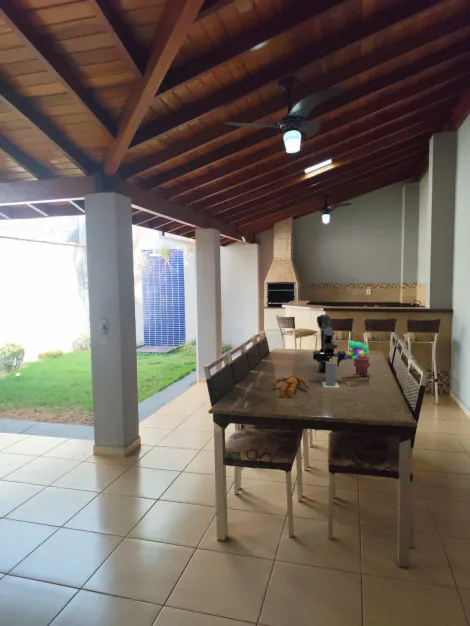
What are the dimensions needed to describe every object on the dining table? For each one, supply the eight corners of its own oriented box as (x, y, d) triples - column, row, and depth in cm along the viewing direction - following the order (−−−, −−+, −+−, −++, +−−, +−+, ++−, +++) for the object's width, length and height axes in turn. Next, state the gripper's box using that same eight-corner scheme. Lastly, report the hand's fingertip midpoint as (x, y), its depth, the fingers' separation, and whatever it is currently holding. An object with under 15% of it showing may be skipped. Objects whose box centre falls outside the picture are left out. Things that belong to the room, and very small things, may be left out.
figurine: (347, 363, 309) (373, 359, 308) (344, 344, 308) (371, 340, 307) (341, 358, 327) (366, 354, 327) (338, 340, 326) (363, 336, 325)
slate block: (325, 383, 245) (325, 358, 243) (334, 383, 244) (334, 358, 243) (326, 385, 240) (326, 360, 238) (335, 385, 239) (335, 360, 238)
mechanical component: (368, 374, 267) (370, 378, 257) (352, 373, 269) (354, 377, 259) (369, 355, 266) (371, 358, 256) (353, 354, 268) (354, 358, 258)
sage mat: (321, 382, 248) (321, 381, 248) (336, 382, 247) (336, 381, 247) (323, 387, 237) (323, 387, 237) (339, 387, 236) (339, 387, 236)
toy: (304, 401, 216) (312, 384, 244) (304, 388, 215) (312, 372, 243) (267, 398, 222) (279, 382, 250) (267, 386, 221) (279, 370, 249)
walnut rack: (342, 383, 246) (342, 376, 246) (358, 381, 250) (359, 374, 250) (351, 386, 237) (351, 380, 237) (368, 384, 241) (369, 378, 241)
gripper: (313, 337, 248) (314, 359, 238) (345, 337, 246) (347, 359, 236) (312, 348, 257) (313, 369, 247) (342, 348, 255) (345, 370, 245)
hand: (330, 367), depth 244 cm, fingers open, 9 cm apart
